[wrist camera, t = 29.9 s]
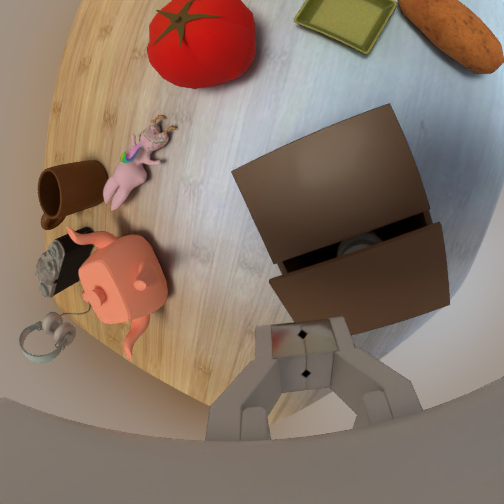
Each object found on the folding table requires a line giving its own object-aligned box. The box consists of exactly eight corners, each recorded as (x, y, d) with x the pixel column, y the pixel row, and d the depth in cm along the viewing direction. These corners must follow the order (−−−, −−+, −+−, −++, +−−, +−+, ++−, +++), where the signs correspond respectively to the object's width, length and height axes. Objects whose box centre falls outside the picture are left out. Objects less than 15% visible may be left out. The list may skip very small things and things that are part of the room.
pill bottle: (373, 210, 28) (381, 231, 21) (386, 250, 29) (396, 284, 22) (333, 224, 30) (326, 250, 23) (347, 263, 31) (344, 299, 24)
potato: (468, 93, 20) (485, 80, 14) (387, 13, 21) (383, -15, 15) (501, 64, 16) (522, 48, 10) (422, -13, 17) (423, -42, 11)
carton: (419, 250, 28) (450, 304, 17) (324, 282, 33) (308, 345, 22) (373, 121, 25) (389, 101, 15) (273, 162, 31) (229, 170, 20)
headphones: (88, 298, 51) (15, 348, 33) (87, 282, 49) (9, 331, 31) (116, 316, 49) (41, 376, 31) (116, 300, 47) (35, 360, 30)
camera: (78, 210, 43) (34, 226, 35) (98, 237, 44) (54, 257, 35) (61, 261, 50) (25, 279, 41) (78, 284, 50) (43, 306, 41)
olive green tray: (295, 28, 24) (291, 21, 22) (327, -20, 20) (325, -29, 18) (366, 61, 23) (367, 55, 21) (396, 10, 19) (398, 2, 17)
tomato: (229, 114, 30) (175, 101, 20) (166, 70, 30) (105, 54, 20) (292, 37, 25) (263, -10, 15) (219, 0, 25) (172, -38, 15)
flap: (448, 301, 18) (450, 304, 17) (309, 341, 23) (309, 345, 22) (439, 221, 14) (441, 224, 14) (269, 278, 20) (268, 282, 19)
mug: (90, 231, 44) (48, 249, 36) (69, 202, 44) (28, 215, 35) (116, 180, 38) (67, 191, 30) (91, 149, 38) (45, 156, 30)
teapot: (118, 207, 40) (62, 227, 30) (192, 252, 38) (141, 287, 28) (106, 280, 46) (62, 307, 37) (168, 324, 44) (128, 364, 35)
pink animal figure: (161, 110, 34) (104, 192, 39) (137, 101, 28) (77, 195, 33) (190, 137, 34) (127, 220, 39) (168, 130, 28) (101, 226, 33)
